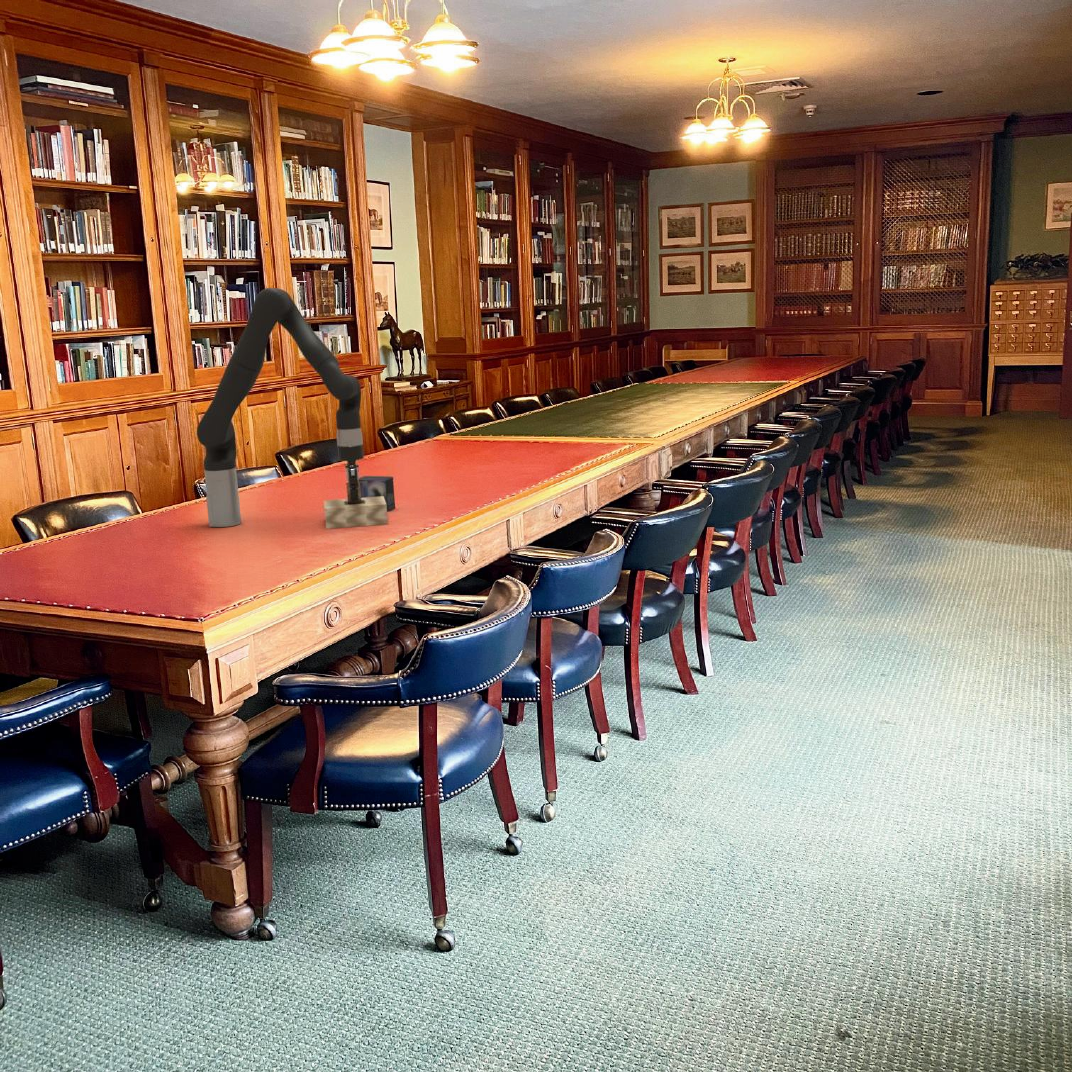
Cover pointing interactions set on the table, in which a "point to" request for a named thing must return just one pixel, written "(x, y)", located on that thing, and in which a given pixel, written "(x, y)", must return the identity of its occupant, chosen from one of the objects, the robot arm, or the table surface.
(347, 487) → the peg
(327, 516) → the seat board
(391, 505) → the small box
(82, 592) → the table surface
